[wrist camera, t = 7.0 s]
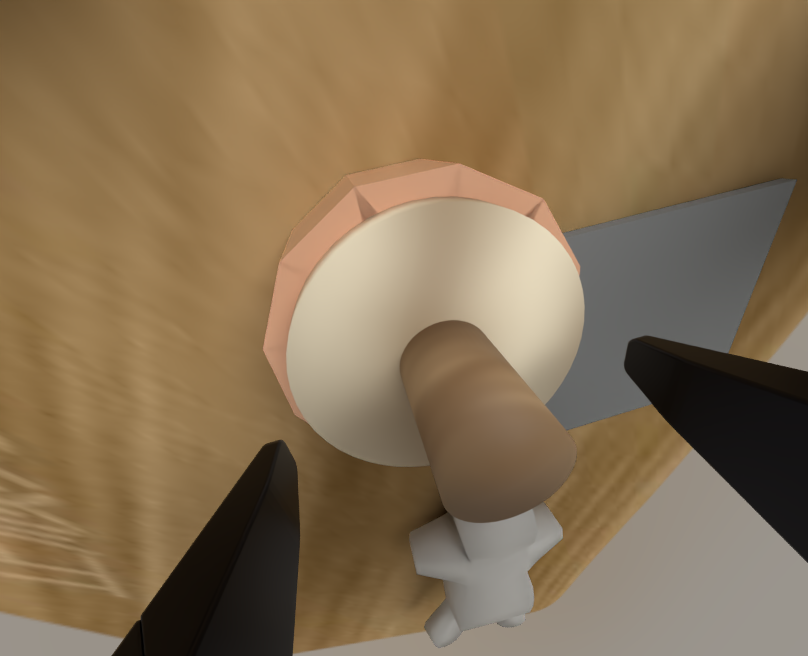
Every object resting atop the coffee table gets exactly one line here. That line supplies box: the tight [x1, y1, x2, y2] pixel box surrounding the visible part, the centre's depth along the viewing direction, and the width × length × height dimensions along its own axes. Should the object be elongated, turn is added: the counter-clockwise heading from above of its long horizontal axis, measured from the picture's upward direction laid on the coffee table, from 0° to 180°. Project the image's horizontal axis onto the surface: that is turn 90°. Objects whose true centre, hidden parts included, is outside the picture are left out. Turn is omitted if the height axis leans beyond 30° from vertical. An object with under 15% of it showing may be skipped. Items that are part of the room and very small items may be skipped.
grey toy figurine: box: [409, 502, 563, 648], centre depth 22 cm, size 10×5×15 cm
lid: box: [286, 196, 585, 523], centre depth 9 cm, size 9×9×5 cm
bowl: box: [263, 159, 581, 423], centre depth 12 cm, size 10×10×4 cm
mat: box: [545, 178, 797, 430], centre depth 17 cm, size 12×12×1 cm
